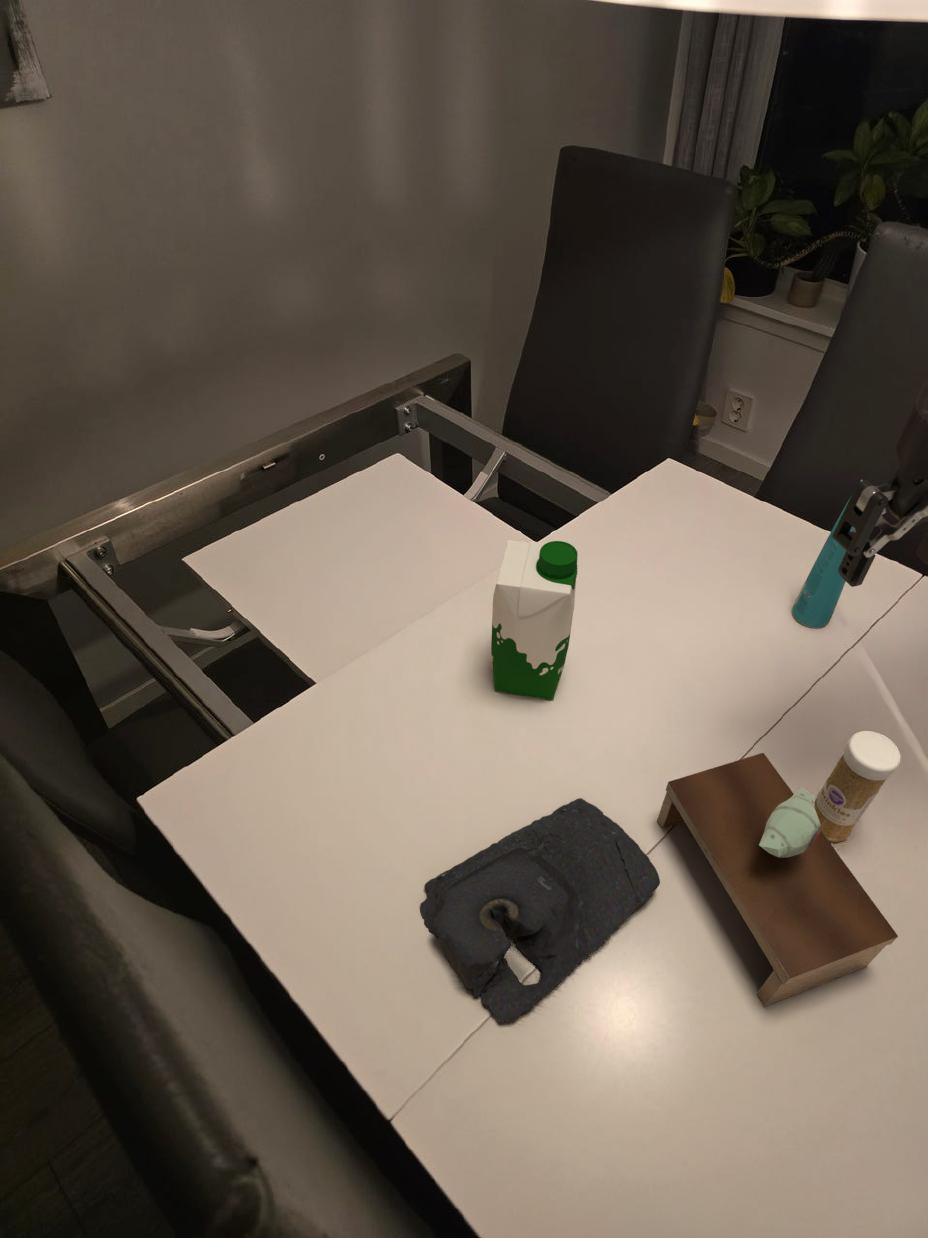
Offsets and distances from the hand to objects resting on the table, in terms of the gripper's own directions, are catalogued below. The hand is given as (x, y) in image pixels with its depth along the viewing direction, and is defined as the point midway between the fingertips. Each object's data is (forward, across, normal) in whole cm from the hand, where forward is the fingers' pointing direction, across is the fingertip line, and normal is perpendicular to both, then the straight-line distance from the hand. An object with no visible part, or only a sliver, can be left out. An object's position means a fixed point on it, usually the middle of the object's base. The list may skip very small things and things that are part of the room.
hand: (888, 570), depth 71 cm
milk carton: (+26, -26, +19) cm, 42 cm away
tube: (+26, +14, +17) cm, 34 cm away
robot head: (+19, -14, -14) cm, 28 cm away
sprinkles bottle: (+26, -4, -10) cm, 28 cm away
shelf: (+26, -15, -14) cm, 33 cm away
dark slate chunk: (+26, -35, -8) cm, 45 cm away
